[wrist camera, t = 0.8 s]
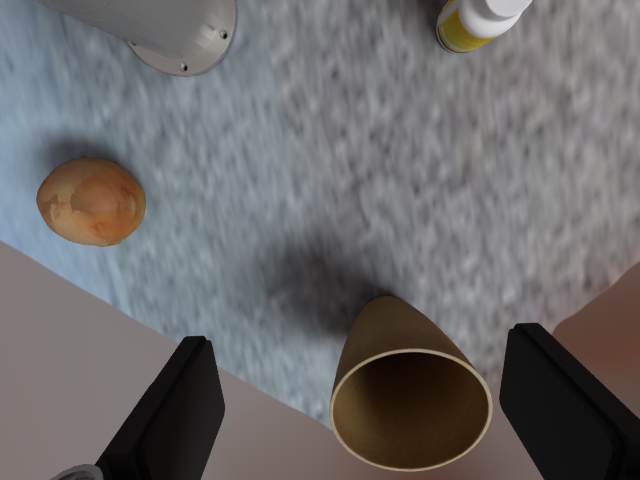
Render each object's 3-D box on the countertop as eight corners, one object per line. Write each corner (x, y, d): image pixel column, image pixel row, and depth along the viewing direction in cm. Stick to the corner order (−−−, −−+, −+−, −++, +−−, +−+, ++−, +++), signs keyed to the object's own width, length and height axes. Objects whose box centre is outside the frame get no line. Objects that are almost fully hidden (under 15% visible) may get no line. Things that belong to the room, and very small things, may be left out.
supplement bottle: (481, 57, 34) (534, 31, 25) (430, 51, 34) (465, 23, 25) (495, -3, 33) (559, -55, 23) (441, -9, 33) (484, -64, 23)
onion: (117, 244, 43) (56, 276, 34) (67, 177, 40) (-14, 191, 31) (176, 212, 41) (129, 237, 32) (128, 139, 39) (61, 143, 29)
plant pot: (335, 266, 43) (336, 341, 28) (449, 276, 43) (512, 357, 28) (326, 359, 48) (323, 466, 33) (428, 368, 48) (472, 480, 32)
